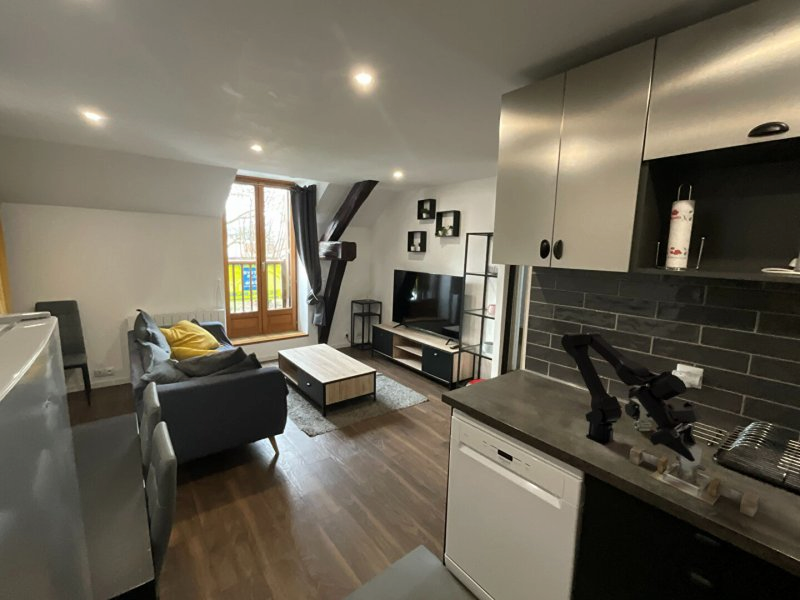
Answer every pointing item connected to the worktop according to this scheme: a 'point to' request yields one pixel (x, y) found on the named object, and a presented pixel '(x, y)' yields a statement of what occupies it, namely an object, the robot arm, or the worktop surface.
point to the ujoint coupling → (690, 464)
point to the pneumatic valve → (638, 415)
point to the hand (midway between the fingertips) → (696, 458)
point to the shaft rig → (704, 487)
